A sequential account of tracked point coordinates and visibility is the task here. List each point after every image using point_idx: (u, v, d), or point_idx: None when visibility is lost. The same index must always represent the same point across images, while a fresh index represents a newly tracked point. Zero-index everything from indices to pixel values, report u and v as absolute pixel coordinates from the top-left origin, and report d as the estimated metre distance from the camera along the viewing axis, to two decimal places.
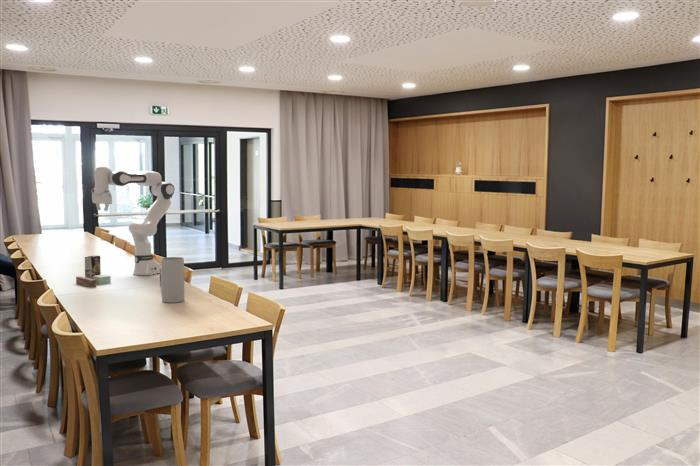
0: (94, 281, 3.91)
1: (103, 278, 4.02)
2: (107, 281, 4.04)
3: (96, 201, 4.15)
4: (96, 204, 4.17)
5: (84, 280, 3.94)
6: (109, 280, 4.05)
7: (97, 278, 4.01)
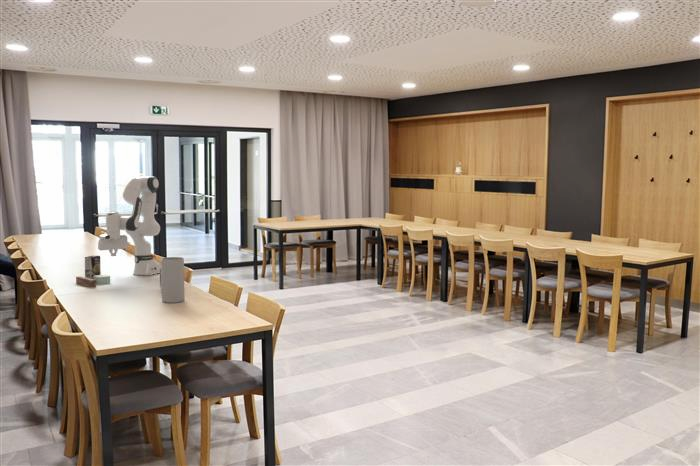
0: (94, 281, 3.91)
1: (102, 278, 4.01)
2: (107, 281, 4.04)
3: (109, 247, 4.05)
4: (112, 250, 4.08)
5: (84, 280, 3.94)
6: (109, 280, 4.05)
7: (96, 278, 4.01)
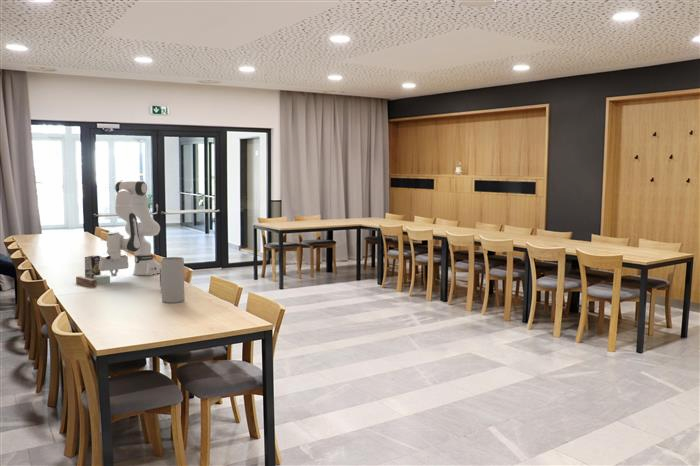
0: (94, 281, 3.91)
1: (102, 278, 4.01)
2: (106, 281, 4.03)
3: (109, 268, 4.06)
4: (112, 271, 4.09)
5: (84, 280, 3.94)
6: (109, 280, 4.04)
7: (96, 278, 4.01)
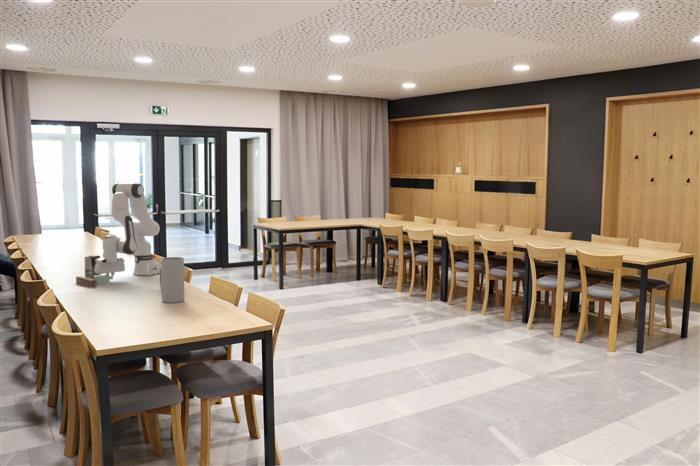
0: (94, 281, 3.91)
1: (102, 278, 4.01)
2: (106, 281, 4.03)
3: (105, 271, 4.05)
4: (108, 274, 4.07)
5: (84, 280, 3.94)
6: (108, 280, 4.04)
7: (96, 278, 4.01)
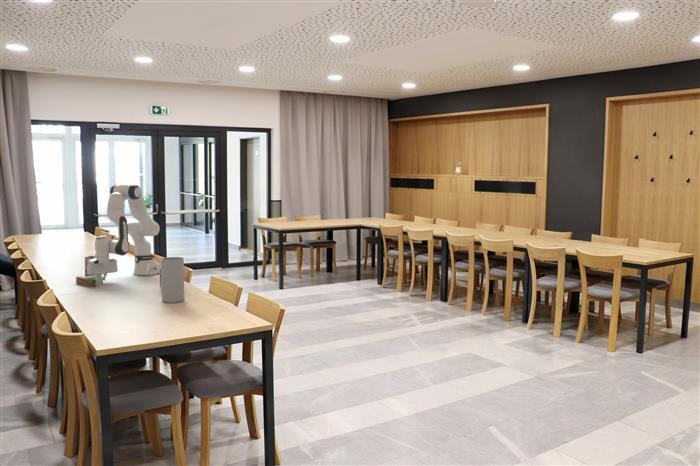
0: (94, 281, 3.91)
1: (95, 279, 3.97)
2: (99, 282, 4.00)
3: (98, 272, 4.01)
4: (101, 275, 4.03)
5: (84, 280, 3.94)
6: (101, 281, 4.01)
7: None
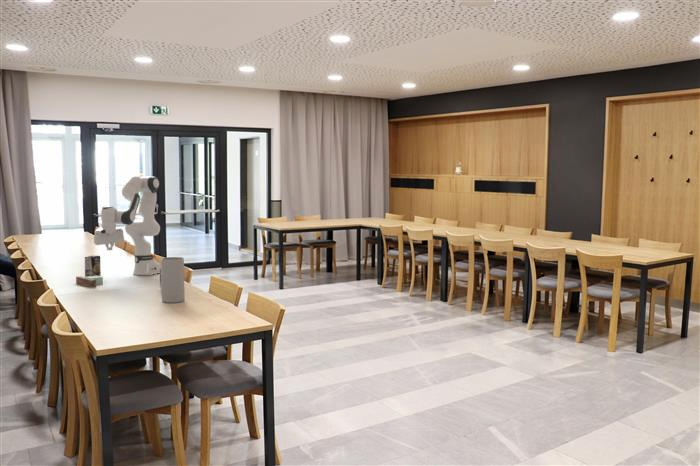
0: (94, 281, 3.91)
1: (95, 279, 3.97)
2: (99, 282, 4.00)
3: (104, 242, 4.03)
4: None
5: (84, 280, 3.94)
6: (101, 281, 4.01)
7: None
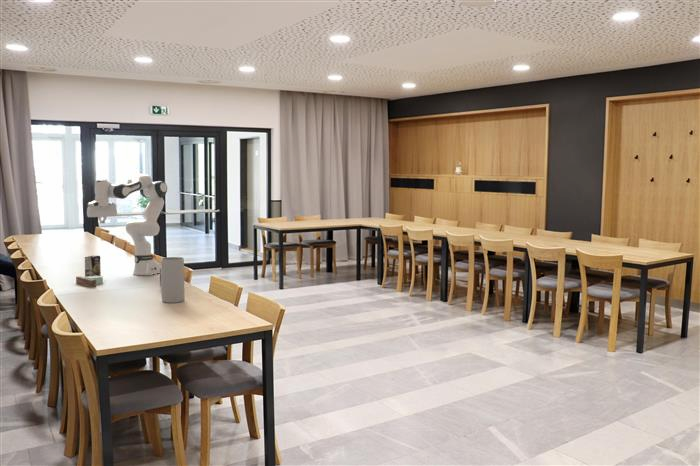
0: (94, 281, 3.91)
1: (95, 279, 3.97)
2: (99, 282, 4.00)
3: (97, 215, 4.08)
4: (100, 217, 4.11)
5: (84, 280, 3.94)
6: (101, 281, 4.01)
7: None
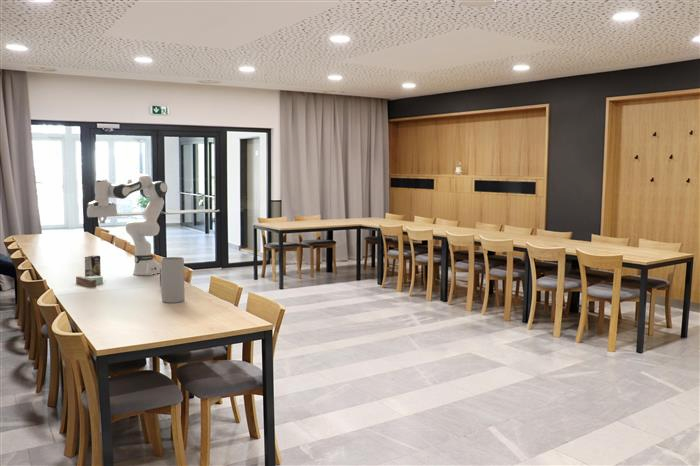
0: (94, 281, 3.91)
1: (95, 279, 3.97)
2: (99, 282, 4.00)
3: (97, 215, 4.08)
4: (100, 217, 4.11)
5: (84, 280, 3.94)
6: (101, 281, 4.01)
7: None
